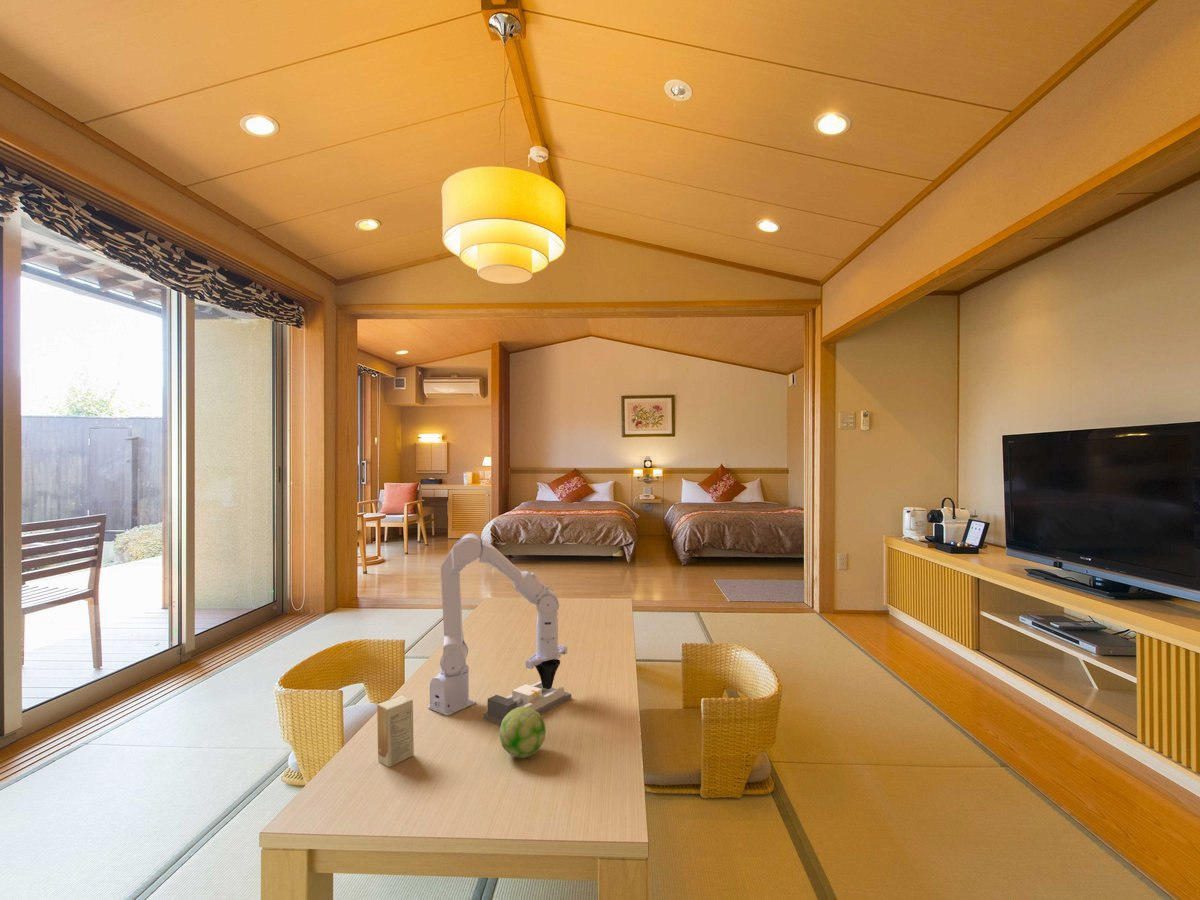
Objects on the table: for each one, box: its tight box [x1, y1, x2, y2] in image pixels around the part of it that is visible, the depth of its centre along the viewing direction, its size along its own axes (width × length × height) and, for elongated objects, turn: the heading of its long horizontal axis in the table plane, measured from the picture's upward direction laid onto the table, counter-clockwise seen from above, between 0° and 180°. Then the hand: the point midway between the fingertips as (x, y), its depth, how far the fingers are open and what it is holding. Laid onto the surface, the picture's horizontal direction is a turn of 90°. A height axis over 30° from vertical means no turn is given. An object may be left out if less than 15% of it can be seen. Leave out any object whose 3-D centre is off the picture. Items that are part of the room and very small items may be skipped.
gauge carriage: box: [511, 683, 542, 707], centre depth 146 cm, size 8×7×4 cm
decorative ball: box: [499, 707, 546, 759], centre depth 125 cm, size 10×10×10 cm
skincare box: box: [376, 694, 415, 768], centre depth 124 cm, size 6×4×12 cm
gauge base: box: [482, 680, 572, 726], centre depth 148 cm, size 22×10×5 cm, turn 144°
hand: (547, 687), depth 154 cm, fingers closed
